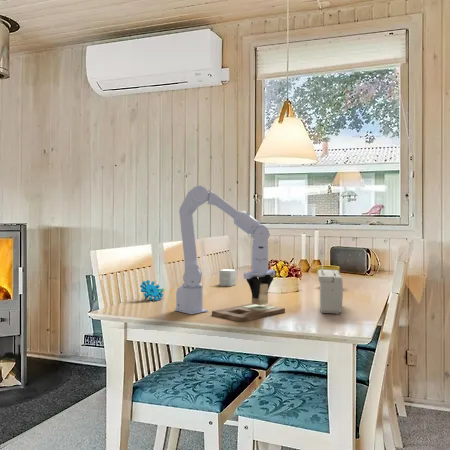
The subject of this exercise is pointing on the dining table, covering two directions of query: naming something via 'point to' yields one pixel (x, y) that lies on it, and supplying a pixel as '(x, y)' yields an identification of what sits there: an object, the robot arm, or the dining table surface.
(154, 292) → the gear
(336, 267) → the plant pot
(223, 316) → the pocket board
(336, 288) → the stereo radio cassette player
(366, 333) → the dining table surface
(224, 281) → the product box
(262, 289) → the maple block
